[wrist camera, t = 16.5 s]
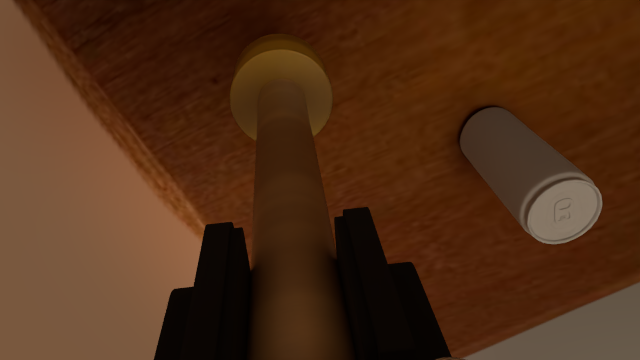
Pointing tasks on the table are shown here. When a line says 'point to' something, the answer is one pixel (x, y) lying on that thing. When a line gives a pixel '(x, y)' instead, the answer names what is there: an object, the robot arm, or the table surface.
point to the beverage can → (530, 177)
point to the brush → (289, 205)
